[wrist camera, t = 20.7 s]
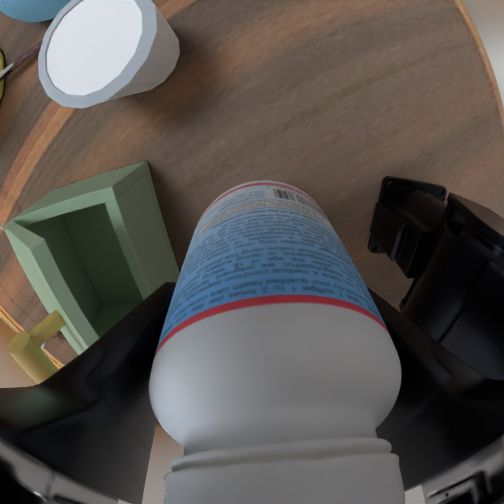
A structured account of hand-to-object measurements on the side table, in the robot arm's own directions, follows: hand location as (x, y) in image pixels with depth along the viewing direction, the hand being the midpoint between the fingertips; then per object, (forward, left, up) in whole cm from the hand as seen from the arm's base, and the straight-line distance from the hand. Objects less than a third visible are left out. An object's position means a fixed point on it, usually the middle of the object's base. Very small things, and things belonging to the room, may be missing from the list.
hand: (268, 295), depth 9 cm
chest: (+12, +5, -11) cm, 17 cm away
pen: (+19, -13, -11) cm, 25 cm away
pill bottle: (0, 0, -4) cm, 4 cm away
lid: (+12, +5, -3) cm, 13 cm away
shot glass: (+8, -10, -12) cm, 17 cm away
